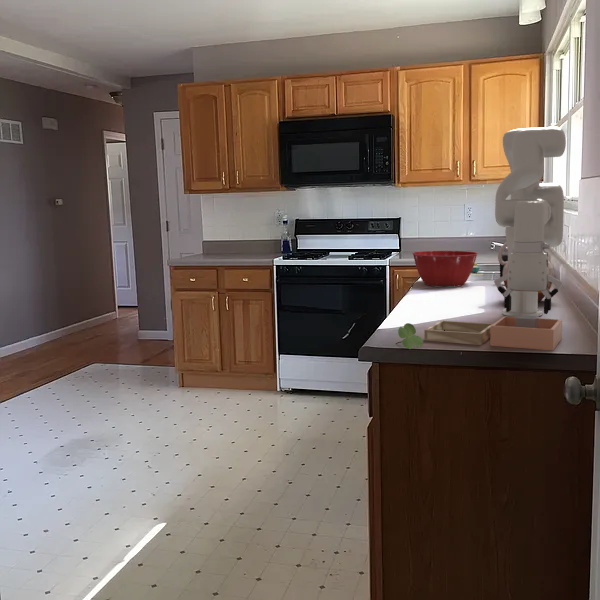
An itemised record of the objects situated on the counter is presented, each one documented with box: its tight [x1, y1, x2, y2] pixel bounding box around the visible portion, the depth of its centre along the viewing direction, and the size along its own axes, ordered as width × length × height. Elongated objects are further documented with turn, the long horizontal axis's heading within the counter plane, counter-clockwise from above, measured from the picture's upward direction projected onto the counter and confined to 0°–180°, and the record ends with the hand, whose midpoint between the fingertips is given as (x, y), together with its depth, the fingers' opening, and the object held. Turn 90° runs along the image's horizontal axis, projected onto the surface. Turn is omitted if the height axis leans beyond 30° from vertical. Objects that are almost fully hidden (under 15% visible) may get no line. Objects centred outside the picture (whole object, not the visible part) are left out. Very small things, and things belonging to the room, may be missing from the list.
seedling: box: [395, 323, 424, 350], centre depth 175 cm, size 7×8×7 cm
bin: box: [489, 315, 563, 351], centre depth 175 cm, size 16×16×5 cm
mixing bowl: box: [411, 250, 478, 287], centre depth 291 cm, size 28×28×15 cm
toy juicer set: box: [470, 262, 484, 276], centre depth 337 cm, size 29×18×8 cm, turn 173°
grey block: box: [515, 315, 539, 328], centre depth 175 cm, size 5×5×6 cm
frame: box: [424, 320, 494, 346], centre depth 184 cm, size 16×16×3 cm
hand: (527, 312), depth 175 cm, fingers open, 9 cm apart
